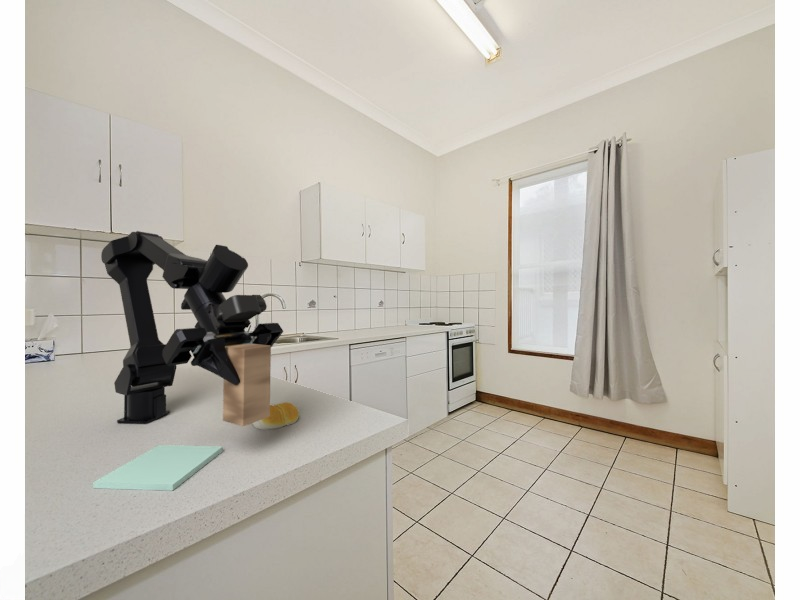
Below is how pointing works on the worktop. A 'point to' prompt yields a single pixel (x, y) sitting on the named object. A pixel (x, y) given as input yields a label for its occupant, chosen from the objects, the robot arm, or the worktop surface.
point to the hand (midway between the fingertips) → (252, 379)
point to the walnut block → (248, 384)
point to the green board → (159, 468)
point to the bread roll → (278, 416)
